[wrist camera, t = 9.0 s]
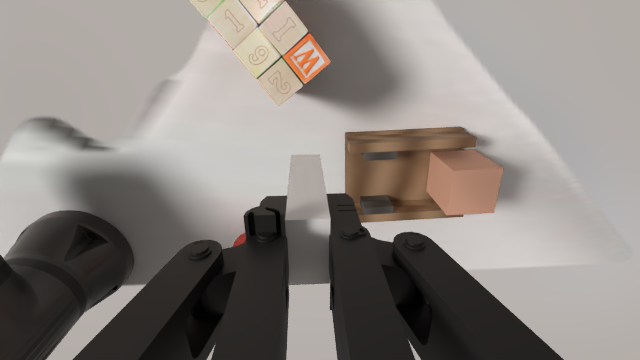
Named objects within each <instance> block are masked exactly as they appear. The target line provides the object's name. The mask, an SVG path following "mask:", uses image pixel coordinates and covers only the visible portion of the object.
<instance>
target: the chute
mask: <svg viewBox="0 0 640 360" xmlns="http://www.w3.org/2000/svg"><path fill="white" fill-rule="evenodd" d="M463 130H464V128H462V127H446V128H426V129H406V130H386V131H366V132H346V133H345V193H346V194H348V195H349V196H350V197H351V198H353V201H354V204H355V207H356V211H357V213H358V216H359V219H360V222H361V223H363V222H380V221H397V220H414V219H431V218H448V217H463V214H462V215H446V214H445V213H444V211H443V210H442V209H441V208H440V207H439V205H438V204H437V203H436V202H435V201H434V200H433V198H432V197H431V196H430V195H429V194H428V192H427V191H426V190H427V181H428V172H429V163H430V154H431V152H440V151H459V150H460V149H461V148H465V147H475V145H476V139H477V138H476V137H474V136H472V135H470V134H469V133H467V132H465V131H463Z"/></svg>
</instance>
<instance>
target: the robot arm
mask: <svg viewBox="0 0 640 360" xmlns="http://www.w3.org/2000/svg"><path fill="white" fill-rule="evenodd" d="M244 223H245V232H246V239H245V242H244V243H242V244H240V245H238V246H235V247H231V248H227V249H223V250H222V247H221V245H220V244H219V243H218V242H216V241H212V240H200V241H196V242H193V243H191V244H189V245H187V246H185V247H184V248H183V249H181V250H180V251H179V252H178V253H177V254H176V255H175V256H174V257H173V258H172V259H171V260H170V261H169V262H168V263H167V264H166V265H165V266H164V267H163V268H162V269H161V270H160V271H159V272H158V273H157V274H156V275H155V277H154V278H153V279H152V280H151V281H150V282H149V283H148V284H147V285H146V286H145V287H144V288H143V289H142V290H141V291H140V292H139V293H138V294H137V295H136V296H135V297H134V298H133V299H132V300H131V301H130V302H129V303H128V304H127V305H126V306H125V307H124V308H123V309H122V310H121V311H120V312H119V313H118V314H117V315H116V316H115V317H114V318H113V319H112V320H111V321H110V322H109V323H108V324H107V325H106V326H105V327H104V328H103V329H102V330H101V331H100V332H99V333H98V334H97V335H96V336H95V337H94V338H93V340H92V341H90V342H89V343H88V344H87V345H86V347H85V348H84V349H83V350H82V351H81V352H80V353H79V354H78V355H77V356H76V357H75V358H74V359H73V360H206V359H207V358H208V356H209V354H210V352H211V351H212V349H213V347H214V345H215V343H216V345H215V348H214V352H213V355H212V359H211V360H286V350H287V328H288V307H289V289H288V288H289V287H288V283H289V285H298V284H322V283H323V284H324V283H330V310H332V313H333V323H334V332H335V341H336V350H337V359H338V360H415V358H414V355H413V352H412V350H411V347H410V344H409V341H410V343H411V345H412V346H413V348H414V349H415V351H416V352H417V354H418V355H419V357H420V358H421V360H564V359H562V358H561V357H560V356H559V355H558V354H557V353H556V352H555V351H554V350H552V349H551V348H550V347H549V346H548V345H547V344H546V343H545V342H544V341H543V340H542V339H540V338H539V337H538V336H537V335H536V334H535V333H534V332H533V331H532V330H531V329H529V328H528V327H527V326H526V325H525V324H524V323H523V322H522V321H521V320H520V319H518V318H517V317H516V316H515V315H514V314H513V313H512V312H511V311H510V310H509V309H507V308H506V307H505V306H504V305H503V304H502V303H501V302H500V301H499V300H497V299H496V298H495V297H494V296H493V295H492V294H491V293H490V292H489V291H488V290H486V289H485V288H484V287H483V286H482V285H481V284H480V283H479V282H478V281H477V280H475V279H474V278H473V277H472V276H471V275H470V274H469V273H468V272H467V271H466V270H464V269H463V268H462V267H461V266H460V265H459V264H458V263H457V262H456V261H455V260H453V259H452V258H451V257H450V256H449V255H448V254H447V253H446V252H445V251H444V250H442V249H441V248H440V247H439V246H438V245H437V244H436V243H435V242H434V241H433V240H431V239H430V238H428V237H427V236H425V235H422V234H419V233H414V232H403V233H400V234H398V235H396V236H395V237H394V241H393V242H387V241H381V240H377V239H375V238H372V237H371V236H370V233H369V231H368V230H367V229H366V228H365V227H363V226H362V225H361V222H360V219H359V216H358V213H357V211H356V207H355V204H354V201H353V198H351V197H350V196H349V195H348V194H346V193H341V194H326V189H325V183H324V177H323V171H322V165H321V159H320V155H291V163H290V173H289V184H288V194H287V196H267V197H266V198H264V199H263V200H262V201H261V203H260V206H258V207H255V208H252V209H250V210H249V211H247V212H246V213H245V215H244ZM132 268H133V254H132V251H131V248H130V246H129V244H128V242H127V241H126V239H125V238H124V237H123V235H122V234H121V233H120V232H119V231H118V230H117V229H115V228H114V227H113V226H112V225H110V224H109V223H107V222H105V221H104V220H102V219H100V218H98V217H95V216H93V215H90V214H86V213H82V212H77V211H58V212H53V213H50V214H47V215H45V216H43V217H41V218H40V219H38V220H37V221H35V222H33V223H32V224H30V225H29V226H28V227H27V228H26V229H24V230H23V232H22V233H21V234H20V236H19V237H18V239H17V241H16V243H15V244H14V245H13V246H12V248H11V249H10V250H9V252H8V253H7V254H6V256H5V257H4V258H3V257H2V256H1V255H0V360H46V359H47V358H48V356H49V355H50V354H51V353H52V352H53V350H54V349H55V348H56V347H57V345H58V344H59V343H60V342H61V340H62V339H63V338H64V337H65V336H66V334H67V333H68V332H69V330H70V329H71V328H72V327H73V326H74V324H75V323H76V322H77V321H78V319H79V318H80V317H81V316H82V315H83V313H84V312H86V311H87V310H89V309H90V308H92V307H93V306H95V305H96V304H98V303H99V302H101V301H102V300H104V299H105V298H107V297H108V296H110V295H111V294H113V293H114V292H116V291H117V290H118V289H119V288H120V287H121V286H122V284H123V283H124V282H125V281H126V279H127V278H128V277H129V275H130V273H131V271H132ZM408 340H409V341H408Z"/></svg>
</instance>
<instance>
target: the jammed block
mask: <svg viewBox="0 0 640 360" xmlns="http://www.w3.org/2000/svg"><path fill="white" fill-rule="evenodd" d="M503 169H504V168H503V167H501V166H499V165H498V164H496V163H494V162H493V161H491V160H489V159H488V158H486V157H485V156H483V155H481V154H480V153H478V152H476V151H475V150H459V151H440V152H431V154H430V163H429V172H428V181H427V190H426V191H427V192H428V194H429V195H430V196H431V197H432V198H433V200H434V201H435V202H436V203H437V204H438V205H439V207H440V208H441V209H442V210H443V211H444V213H445V214H446V215H462V214H479V213H494V210H495V206H496V201H497V196H498V192H499V187H500V183H501V178H502V173H503Z"/></svg>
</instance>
